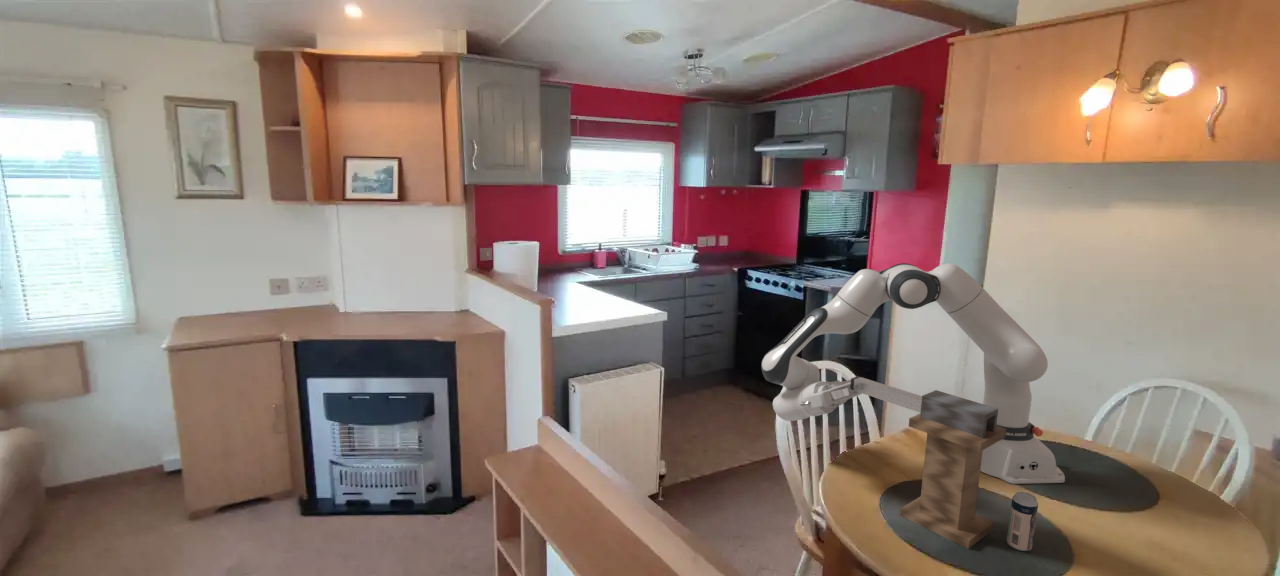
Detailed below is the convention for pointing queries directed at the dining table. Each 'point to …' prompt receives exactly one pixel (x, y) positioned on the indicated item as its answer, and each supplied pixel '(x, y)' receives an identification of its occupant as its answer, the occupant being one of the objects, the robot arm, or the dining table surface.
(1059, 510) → the dining table surface
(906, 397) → the spindle bar
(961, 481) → the stand
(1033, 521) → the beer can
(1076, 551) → the dining table surface
